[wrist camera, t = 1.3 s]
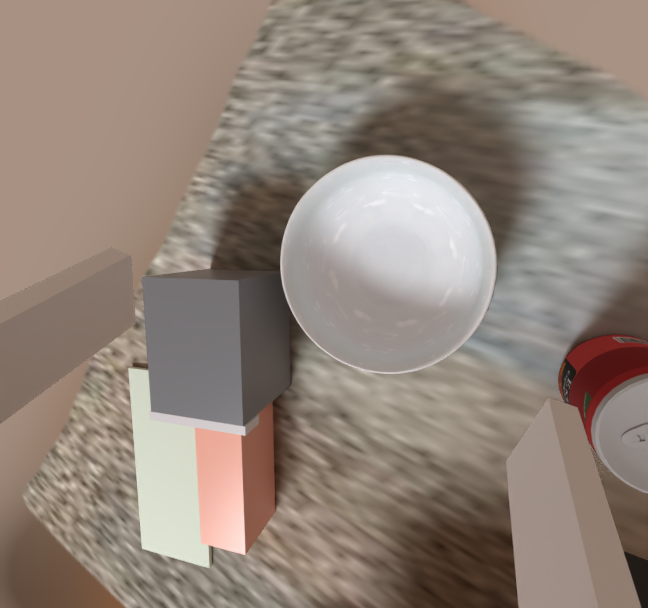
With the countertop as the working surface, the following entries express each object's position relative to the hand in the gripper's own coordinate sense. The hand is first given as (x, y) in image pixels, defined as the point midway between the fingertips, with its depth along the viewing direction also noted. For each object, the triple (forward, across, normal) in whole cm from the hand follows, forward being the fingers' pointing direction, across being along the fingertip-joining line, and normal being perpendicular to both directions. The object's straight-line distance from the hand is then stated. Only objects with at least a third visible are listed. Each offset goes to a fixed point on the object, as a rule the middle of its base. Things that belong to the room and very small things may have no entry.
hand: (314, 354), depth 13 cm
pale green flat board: (+17, +17, +38) cm, 45 cm away
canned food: (+23, -20, +10) cm, 32 cm away
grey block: (+23, +12, +18) cm, 32 cm away
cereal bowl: (+26, -1, +8) cm, 27 cm away
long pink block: (+20, +9, +28) cm, 36 cm away
